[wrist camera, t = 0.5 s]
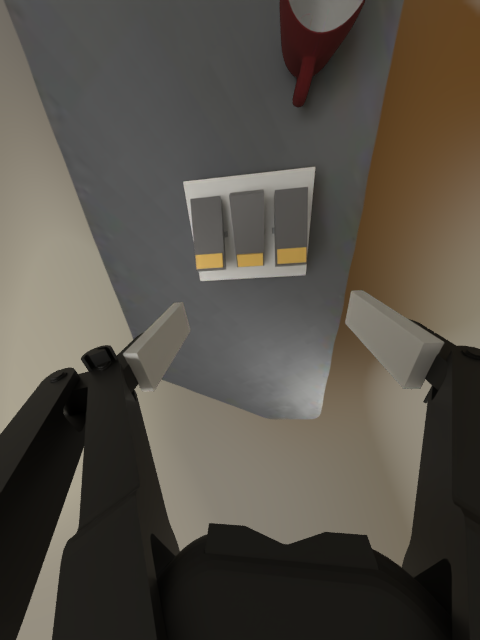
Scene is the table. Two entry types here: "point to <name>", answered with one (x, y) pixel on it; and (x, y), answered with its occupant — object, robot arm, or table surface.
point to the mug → (313, 36)
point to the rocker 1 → (208, 233)
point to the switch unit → (269, 184)
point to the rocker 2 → (248, 227)
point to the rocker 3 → (291, 226)
